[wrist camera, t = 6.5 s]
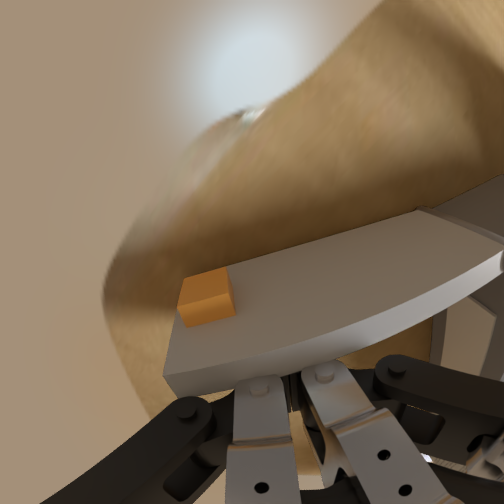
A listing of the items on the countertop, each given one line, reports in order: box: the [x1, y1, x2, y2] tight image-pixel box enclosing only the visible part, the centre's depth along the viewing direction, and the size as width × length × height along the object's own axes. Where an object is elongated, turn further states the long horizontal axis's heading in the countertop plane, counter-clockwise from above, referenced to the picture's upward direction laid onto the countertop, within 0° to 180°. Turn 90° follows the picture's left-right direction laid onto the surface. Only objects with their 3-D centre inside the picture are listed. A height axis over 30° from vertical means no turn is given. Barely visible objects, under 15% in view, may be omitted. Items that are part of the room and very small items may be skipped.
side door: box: [163, 206, 504, 399], centre depth 9 cm, size 13×2×6 cm, turn 105°
